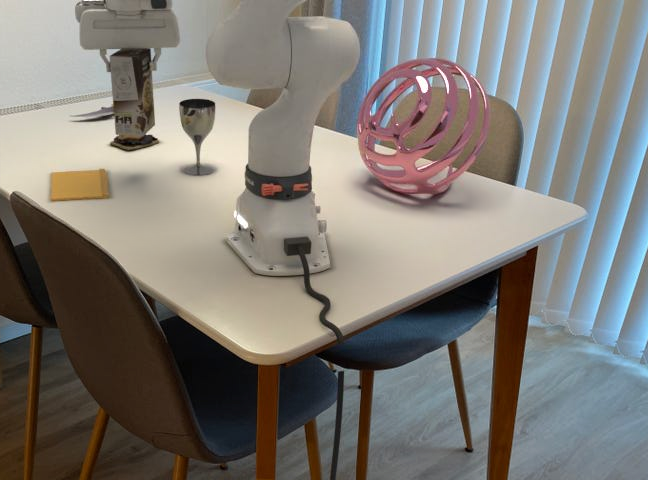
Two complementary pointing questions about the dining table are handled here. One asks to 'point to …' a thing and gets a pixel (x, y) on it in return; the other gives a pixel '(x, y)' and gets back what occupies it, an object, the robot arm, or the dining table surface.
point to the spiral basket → (397, 132)
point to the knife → (98, 112)
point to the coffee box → (132, 91)
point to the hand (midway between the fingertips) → (131, 70)
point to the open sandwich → (134, 141)
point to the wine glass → (197, 128)
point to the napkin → (79, 185)
